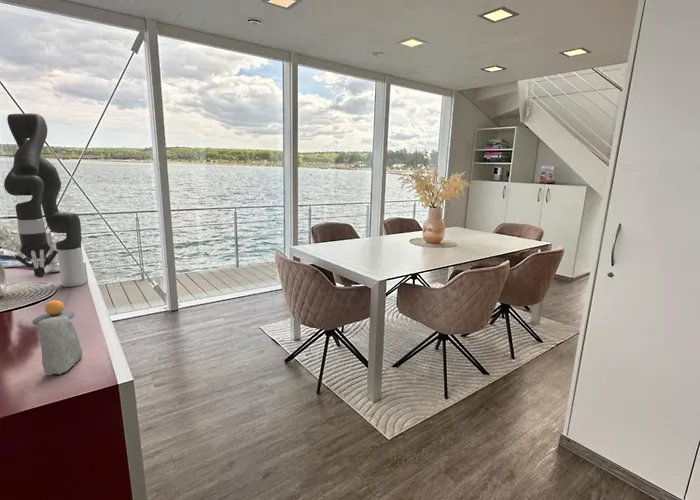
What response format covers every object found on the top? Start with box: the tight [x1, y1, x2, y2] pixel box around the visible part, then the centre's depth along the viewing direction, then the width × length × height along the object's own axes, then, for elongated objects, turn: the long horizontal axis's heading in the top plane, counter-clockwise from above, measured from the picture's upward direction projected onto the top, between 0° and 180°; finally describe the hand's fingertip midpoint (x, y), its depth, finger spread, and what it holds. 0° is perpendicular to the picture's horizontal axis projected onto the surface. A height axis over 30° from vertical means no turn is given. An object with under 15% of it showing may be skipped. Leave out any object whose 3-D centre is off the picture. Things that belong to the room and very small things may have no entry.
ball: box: [44, 299, 65, 315], centre depth 138 cm, size 6×6×6 cm
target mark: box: [32, 310, 76, 325], centre depth 136 cm, size 12×12×1 cm
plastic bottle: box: [45, 232, 60, 273], centre depth 188 cm, size 6×7×20 cm
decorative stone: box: [37, 316, 83, 376], centre depth 103 cm, size 11×6×15 cm, turn 5°
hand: (40, 277), depth 139 cm, fingers closed
